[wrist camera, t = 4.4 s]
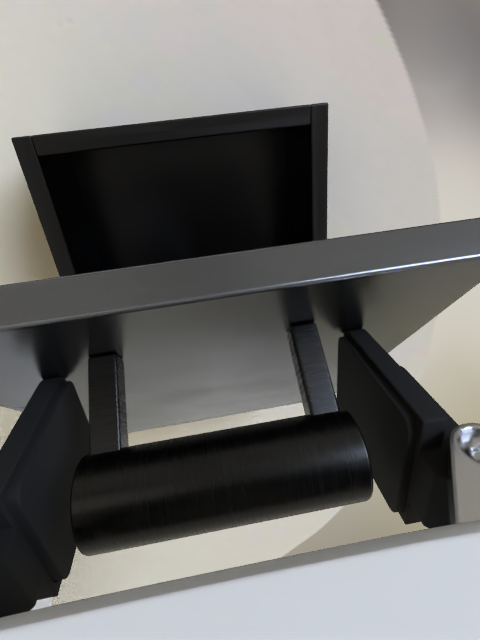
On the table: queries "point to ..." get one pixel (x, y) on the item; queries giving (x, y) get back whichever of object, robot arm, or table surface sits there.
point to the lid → (223, 373)
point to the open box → (179, 187)
